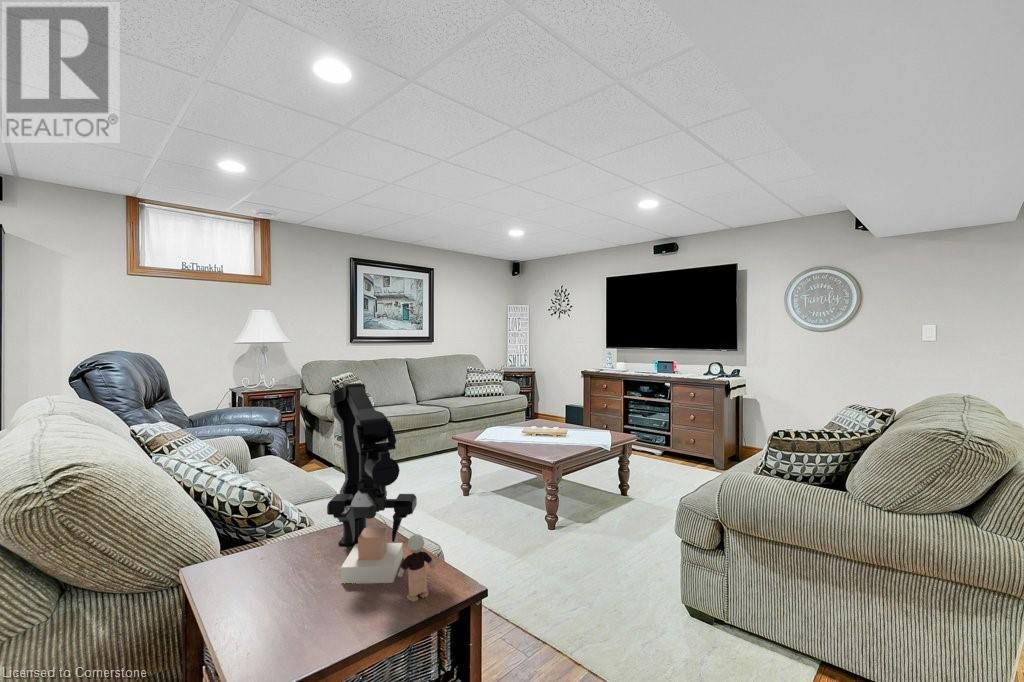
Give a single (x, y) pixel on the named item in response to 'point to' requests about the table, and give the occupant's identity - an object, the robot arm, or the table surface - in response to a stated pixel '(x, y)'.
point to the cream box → (372, 566)
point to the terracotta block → (372, 543)
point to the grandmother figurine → (416, 568)
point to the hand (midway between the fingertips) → (373, 541)
